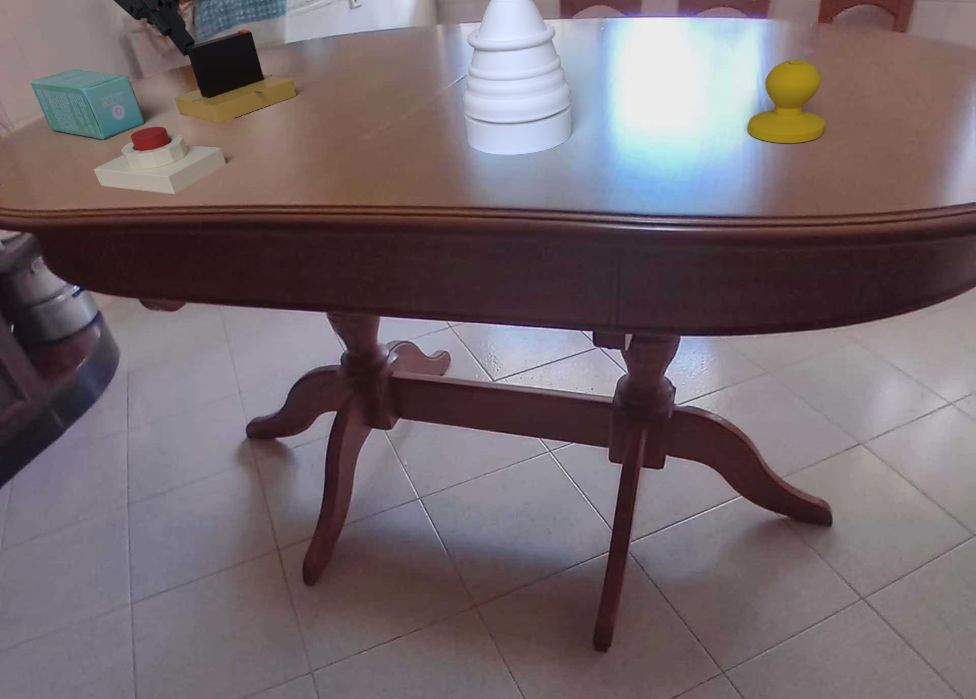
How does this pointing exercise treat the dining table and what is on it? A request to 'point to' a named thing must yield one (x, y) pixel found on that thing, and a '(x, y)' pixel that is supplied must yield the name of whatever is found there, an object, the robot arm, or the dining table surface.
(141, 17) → the robot arm
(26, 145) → the dining table surface
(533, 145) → the honey pot
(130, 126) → the box
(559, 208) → the dining table surface
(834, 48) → the dining table surface
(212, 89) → the lock knob
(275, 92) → the lock plate
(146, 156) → the bell block
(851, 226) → the dining table surface
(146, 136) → the bell button
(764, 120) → the doorknob
